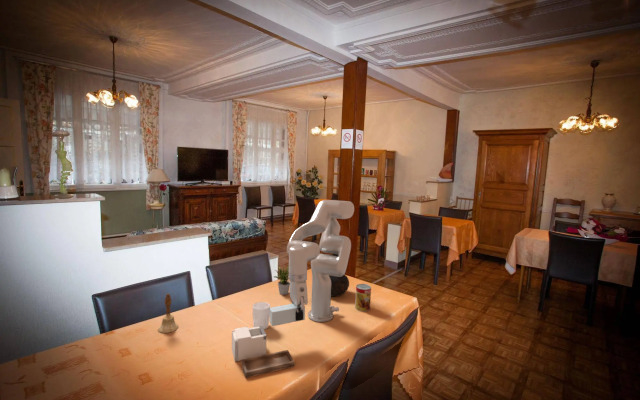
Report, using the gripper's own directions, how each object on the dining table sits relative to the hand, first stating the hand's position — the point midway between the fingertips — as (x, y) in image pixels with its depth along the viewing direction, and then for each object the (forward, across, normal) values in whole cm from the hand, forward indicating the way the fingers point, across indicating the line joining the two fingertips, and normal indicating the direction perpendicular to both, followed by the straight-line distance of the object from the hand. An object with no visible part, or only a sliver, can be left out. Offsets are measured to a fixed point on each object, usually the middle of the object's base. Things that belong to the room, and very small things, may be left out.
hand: (297, 317), depth 131 cm
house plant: (+13, +49, -9) cm, 52 cm away
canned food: (+13, +18, -43) cm, 49 cm away
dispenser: (+10, -1, +21) cm, 23 cm away
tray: (+10, -12, +16) cm, 22 cm away
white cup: (+11, +17, +12) cm, 24 cm away
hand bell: (+10, +29, +51) cm, 60 cm away
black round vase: (+14, +41, -37) cm, 57 cm away
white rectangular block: (+1, 0, +4) cm, 5 cm away
